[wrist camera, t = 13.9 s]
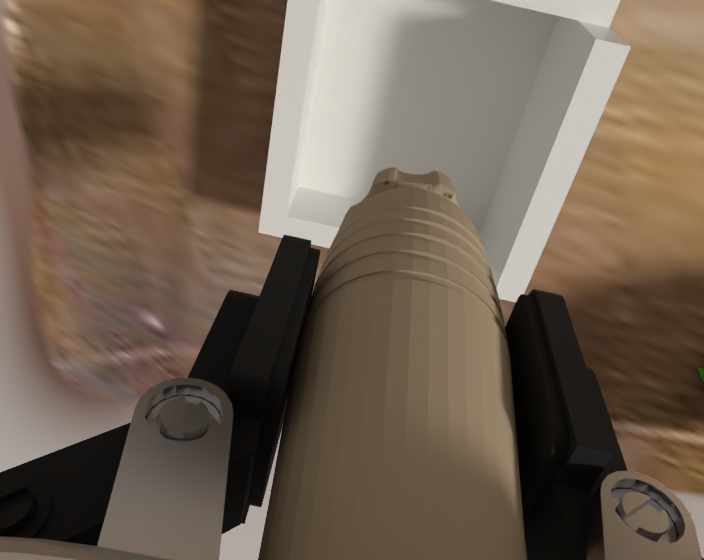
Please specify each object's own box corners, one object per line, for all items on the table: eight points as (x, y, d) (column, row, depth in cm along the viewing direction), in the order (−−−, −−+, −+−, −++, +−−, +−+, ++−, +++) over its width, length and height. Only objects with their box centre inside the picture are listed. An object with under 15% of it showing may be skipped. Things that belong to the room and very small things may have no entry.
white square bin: (315, -89, 21) (281, -77, 16) (596, -24, 22) (647, 8, 17) (276, 194, 27) (242, 265, 22) (495, 243, 28) (510, 324, 23)
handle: (315, 308, 18) (72, 1266, 6) (319, 88, 15) (-304, 1349, 2) (481, 324, 18) (610, 1369, 5) (527, 103, 14) (1199, 1657, 2)
